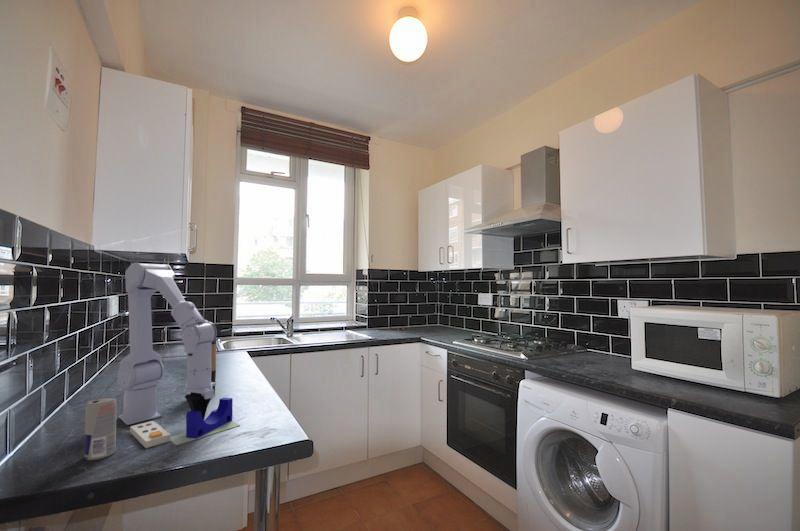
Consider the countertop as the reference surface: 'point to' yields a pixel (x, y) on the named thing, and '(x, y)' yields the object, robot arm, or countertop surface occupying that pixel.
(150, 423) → the power strip
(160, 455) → the countertop surface
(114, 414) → the energy drink
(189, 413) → the cable clip
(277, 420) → the countertop surface
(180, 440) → the mat
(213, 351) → the travel mug
